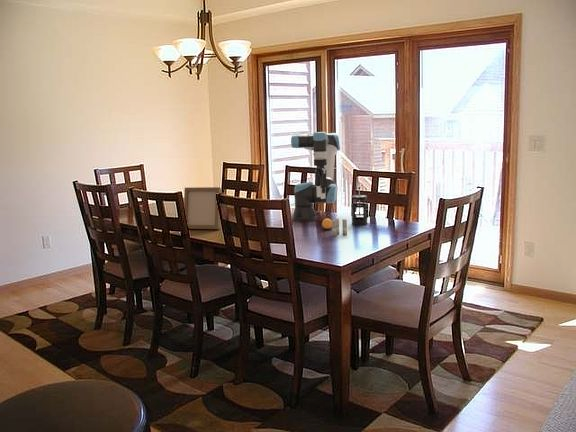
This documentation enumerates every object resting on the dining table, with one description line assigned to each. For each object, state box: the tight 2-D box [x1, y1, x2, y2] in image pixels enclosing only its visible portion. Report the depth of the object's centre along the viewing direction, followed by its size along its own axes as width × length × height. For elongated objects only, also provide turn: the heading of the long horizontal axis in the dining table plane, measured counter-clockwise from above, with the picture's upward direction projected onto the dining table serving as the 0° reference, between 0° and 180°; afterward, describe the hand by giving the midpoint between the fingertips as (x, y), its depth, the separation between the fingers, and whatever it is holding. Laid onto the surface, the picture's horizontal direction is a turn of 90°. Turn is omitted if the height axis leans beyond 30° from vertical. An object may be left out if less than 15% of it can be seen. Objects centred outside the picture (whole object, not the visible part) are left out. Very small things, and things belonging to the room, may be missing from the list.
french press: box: [351, 185, 369, 226], centre depth 331 cm, size 12×9×23 cm
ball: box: [321, 218, 332, 230], centre depth 322 cm, size 6×6×6 cm
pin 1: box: [331, 219, 338, 237], centre depth 303 cm, size 2×2×8 cm
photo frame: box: [183, 186, 222, 230], centre depth 335 cm, size 15×22×25 cm
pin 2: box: [341, 218, 348, 236], centre depth 304 cm, size 2×2×8 cm
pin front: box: [334, 217, 340, 235], centre depth 307 cm, size 2×2×8 cm
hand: (321, 197), depth 328 cm, fingers open, 6 cm apart
